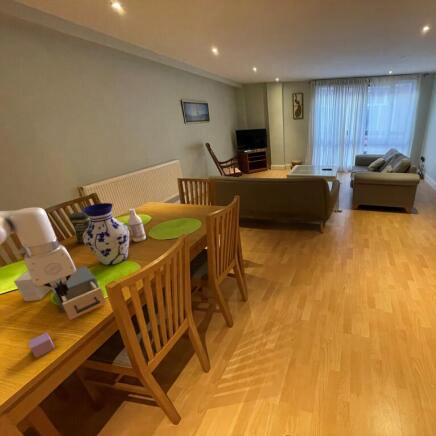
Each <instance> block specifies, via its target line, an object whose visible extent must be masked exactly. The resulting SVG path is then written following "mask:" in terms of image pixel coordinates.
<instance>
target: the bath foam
mask: <svg viewBox="0 0 436 436" xmlns="http://www.w3.org/2000/svg"><path fill="white" fill-rule="evenodd" d="M128 213H129V217H128V219H127V225H128V229H129V232H130V235H131V237H132V241H133V242H136V243H137V242H142V241H144V240H147V236H146V232H145V228H144V225H143V221H142V219H141V217H140V216H138V215H137V213H136V210H135V208H129V209H128Z"/></svg>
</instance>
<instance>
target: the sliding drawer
mask: <svg viewBox="0 0 436 436" xmlns="http://www.w3.org/2000/svg"><path fill="white" fill-rule="evenodd" d="M63 294H64V293H63ZM60 296H61V295H60ZM61 299H62V301H63V303H62V305H63V307H64V309H65V311H64V312H65V314H66V315H67V317H68V320H69V321H72V320H74V319H75V318H78V317H80V316H82V315H85V314H87V313H88V312H90V311H93V310H95V309H96V308H98V307H101V306H103V305H105V304H106V303H107V301H106V298H105V295H104V292H103V290H102V288H101V287H100V286H99V288H97V287H96V285H95V284H94V283H93V282H92V281H89V282H87V283H84V284H82V285H79V286H77V287H74V288H72V289H69V290H68V291H67V295H65V294H64V296H63V297H62V296H61Z"/></svg>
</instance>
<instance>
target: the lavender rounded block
mask: <svg viewBox="0 0 436 436" xmlns="http://www.w3.org/2000/svg"><path fill="white" fill-rule="evenodd" d="M28 345H29V348H30V351H31V352H32V354H33V356H34V357H35V358H36V359H38V358H40V357H41V356H44V355H45V354H47V353H49V352H51V351H53V350H55V345H54V343H53V340H52V339H51V337H50V335H49V333H48V332H47V331H46V332H44V333H42V334H40V335H37V336H36V337H33V338H32V339H30V340H28Z"/></svg>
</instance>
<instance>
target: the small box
mask: <svg viewBox="0 0 436 436" xmlns="http://www.w3.org/2000/svg"><path fill="white" fill-rule="evenodd" d="M13 282H14V285H15V286H16V288H17V290H18V291H19V293H20V295H21V297H22V298H23V300H24V302H33V301H40V300H42V299H43V298H44V297H45V296H46V295H47V294H49V293H50V291H52V289H51V287H48V286H43V287H38V288H35V287H34V283H33V281H32V279H31V277H30V274H29V272H28V270H27V271H26V272H24V273H23V274H22V275H20V276H19V277H17V278H16V279H14V280H13Z"/></svg>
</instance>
